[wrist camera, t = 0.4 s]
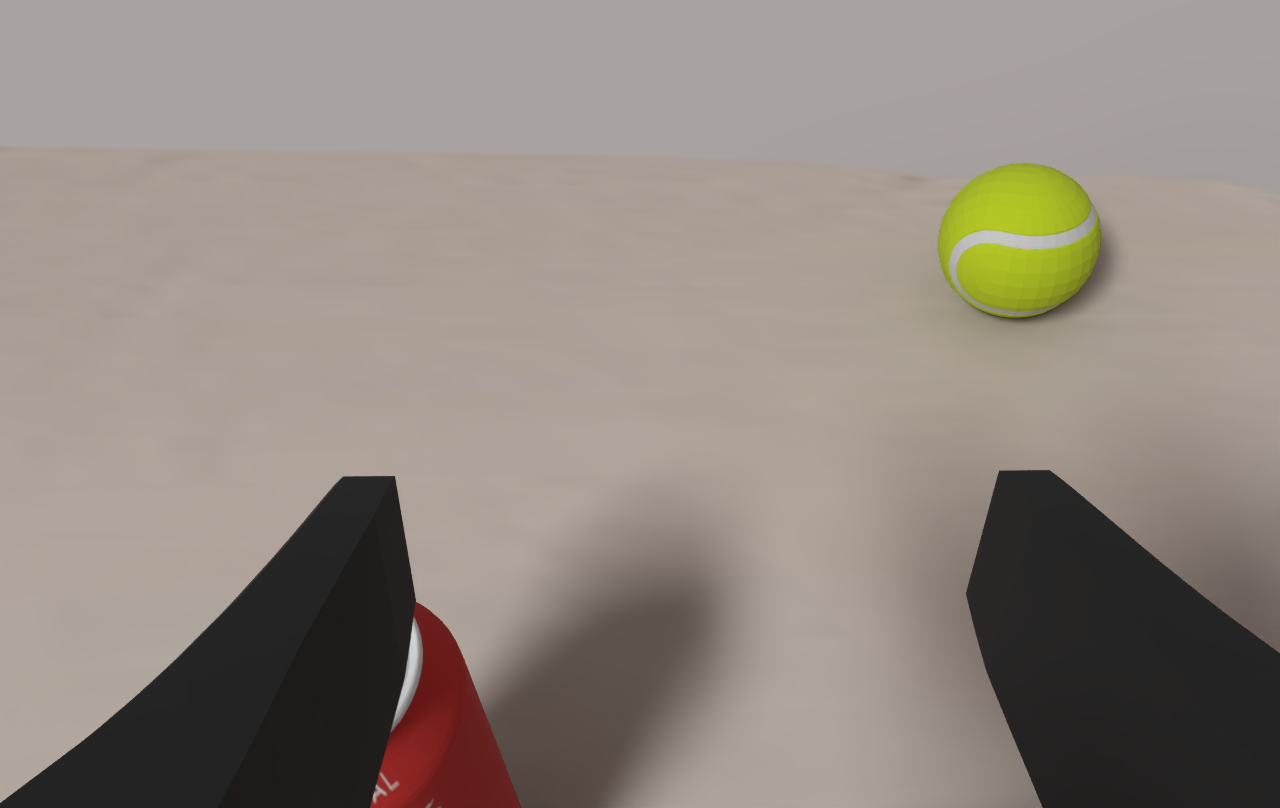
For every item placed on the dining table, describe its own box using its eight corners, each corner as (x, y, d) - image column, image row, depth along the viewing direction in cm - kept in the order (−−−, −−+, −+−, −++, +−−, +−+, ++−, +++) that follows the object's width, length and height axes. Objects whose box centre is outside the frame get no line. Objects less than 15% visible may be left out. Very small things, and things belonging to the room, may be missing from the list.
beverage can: (509, 756, 32) (419, 516, 24) (567, 956, 27) (483, 746, 19) (313, 832, 31) (146, 606, 22) (341, 1054, 26) (146, 874, 18)
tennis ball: (1101, 283, 46) (1138, 155, 42) (1053, 367, 43) (1089, 236, 38) (961, 245, 49) (982, 121, 45) (906, 320, 46) (922, 193, 41)
